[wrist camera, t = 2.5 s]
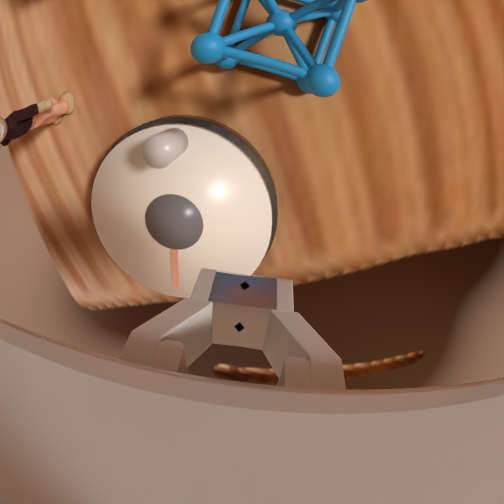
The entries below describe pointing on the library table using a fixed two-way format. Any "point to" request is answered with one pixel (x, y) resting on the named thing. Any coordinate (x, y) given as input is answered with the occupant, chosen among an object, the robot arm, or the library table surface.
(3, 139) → the grandmother figurine
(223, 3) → the molecular structure
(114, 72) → the library table surface
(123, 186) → the turntable
